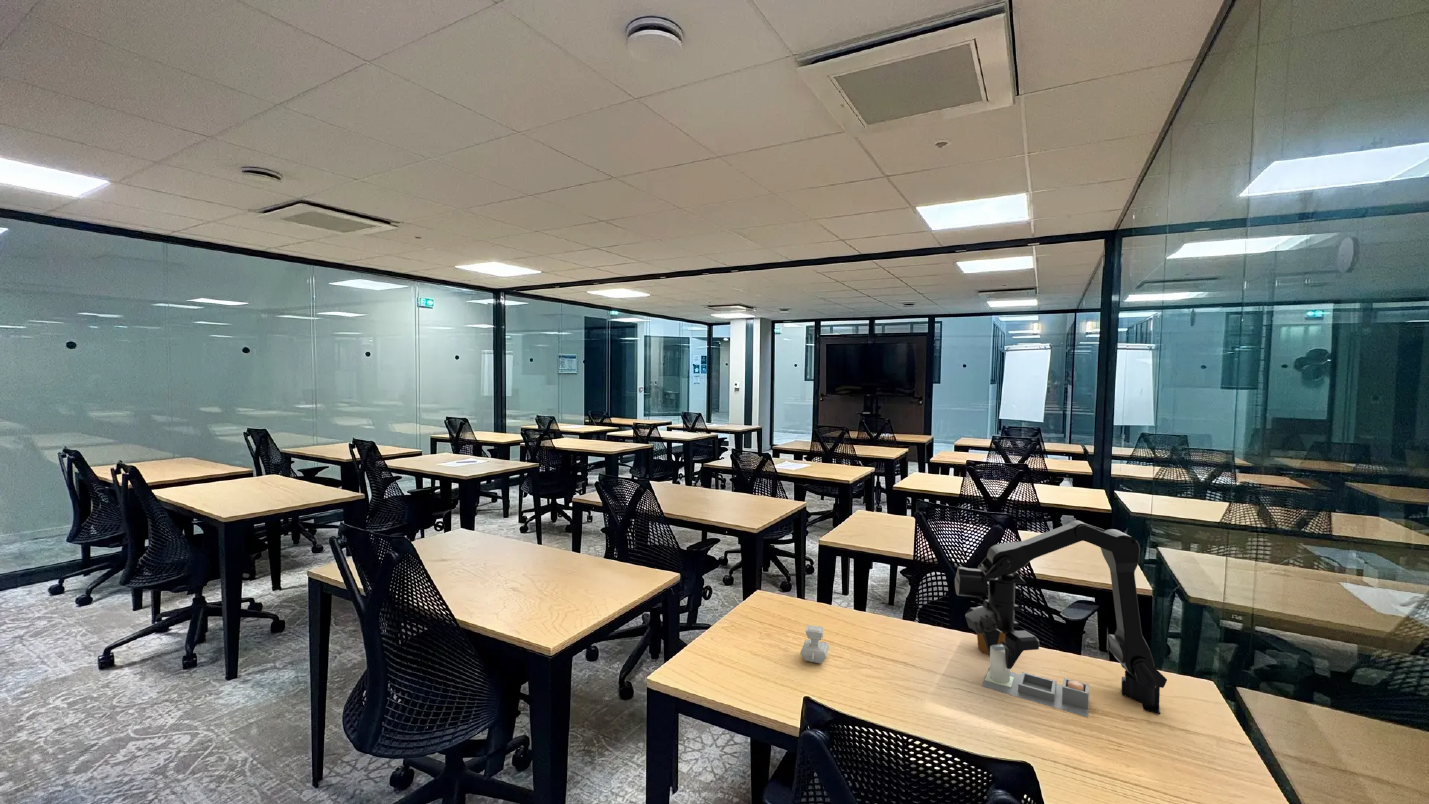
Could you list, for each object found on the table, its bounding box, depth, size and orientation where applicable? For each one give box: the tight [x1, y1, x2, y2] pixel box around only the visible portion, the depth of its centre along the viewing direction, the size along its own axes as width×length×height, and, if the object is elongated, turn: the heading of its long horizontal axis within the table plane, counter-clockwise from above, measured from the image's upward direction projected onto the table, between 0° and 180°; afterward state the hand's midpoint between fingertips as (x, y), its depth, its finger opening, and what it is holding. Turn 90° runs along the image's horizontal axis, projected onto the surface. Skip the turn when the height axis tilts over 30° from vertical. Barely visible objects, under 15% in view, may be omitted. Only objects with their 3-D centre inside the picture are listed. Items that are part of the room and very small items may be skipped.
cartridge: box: [989, 644, 1011, 683], centre depth 134 cm, size 4×4×8 cm
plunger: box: [1068, 680, 1084, 691], centre depth 125 cm, size 3×3×3 cm
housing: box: [981, 666, 1090, 718], centre depth 130 cm, size 21×12×5 cm, turn 55°
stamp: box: [800, 624, 830, 664], centre depth 146 cm, size 9×7×8 cm
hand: (1000, 662), depth 134 cm, fingers open, 6 cm apart
